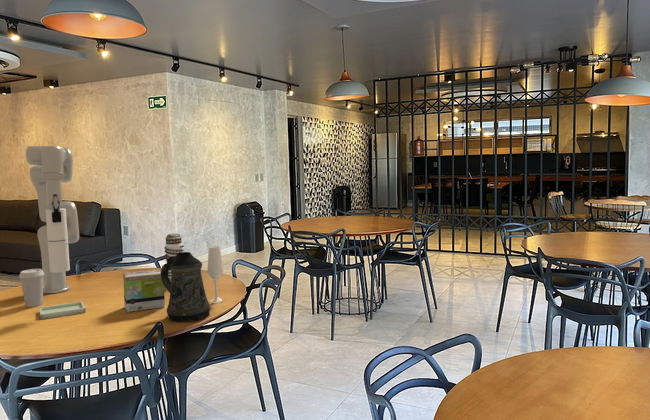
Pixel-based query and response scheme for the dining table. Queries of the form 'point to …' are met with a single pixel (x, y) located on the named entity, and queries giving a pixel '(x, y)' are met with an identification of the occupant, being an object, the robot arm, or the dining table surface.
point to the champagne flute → (215, 267)
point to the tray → (62, 310)
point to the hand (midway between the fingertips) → (56, 220)
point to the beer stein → (185, 288)
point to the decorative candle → (173, 247)
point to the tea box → (143, 290)
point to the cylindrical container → (57, 242)
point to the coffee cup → (32, 287)
